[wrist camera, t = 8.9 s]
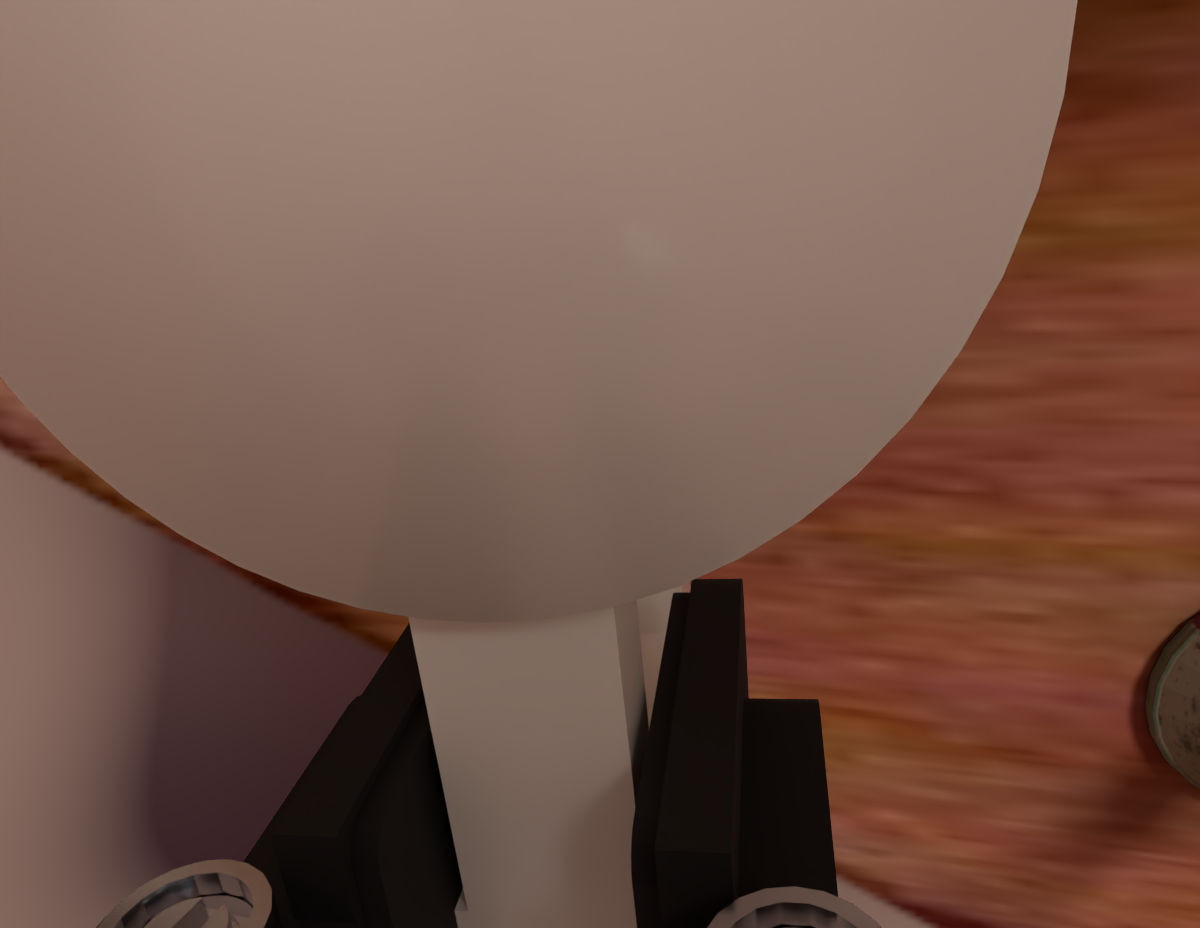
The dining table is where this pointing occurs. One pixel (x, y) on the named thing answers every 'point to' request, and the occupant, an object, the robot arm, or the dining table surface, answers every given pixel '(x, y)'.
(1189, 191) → the dining table surface
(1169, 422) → the dining table surface
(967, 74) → the capsule with loop handle
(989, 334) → the dining table surface
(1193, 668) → the candlestick holder
